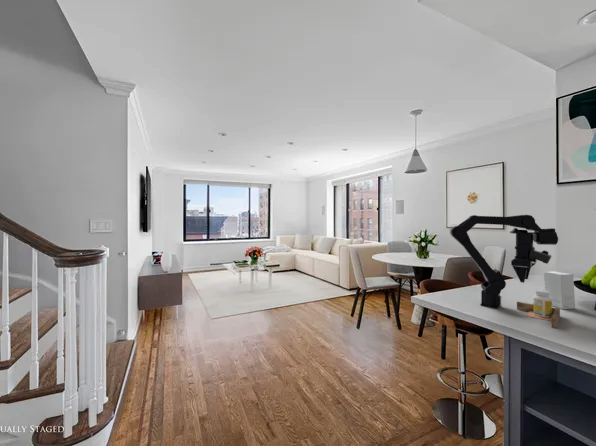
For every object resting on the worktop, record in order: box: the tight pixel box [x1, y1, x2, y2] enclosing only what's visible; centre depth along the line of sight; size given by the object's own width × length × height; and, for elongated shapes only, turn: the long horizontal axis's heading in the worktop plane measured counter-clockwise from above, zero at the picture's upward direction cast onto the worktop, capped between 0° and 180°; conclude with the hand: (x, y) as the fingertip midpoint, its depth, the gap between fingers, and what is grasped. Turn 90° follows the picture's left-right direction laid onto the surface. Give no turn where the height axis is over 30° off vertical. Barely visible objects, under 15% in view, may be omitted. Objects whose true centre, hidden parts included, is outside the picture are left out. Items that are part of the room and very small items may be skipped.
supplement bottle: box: [533, 289, 553, 318], centre depth 109 cm, size 5×5×10 cm
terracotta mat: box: [525, 311, 553, 322], centre depth 109 cm, size 8×8×1 cm
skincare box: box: [543, 270, 576, 310], centre depth 121 cm, size 8×6×15 cm
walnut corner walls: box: [516, 301, 561, 329], centre depth 107 cm, size 13×17×3 cm
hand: (524, 280), depth 118 cm, fingers open, 9 cm apart
